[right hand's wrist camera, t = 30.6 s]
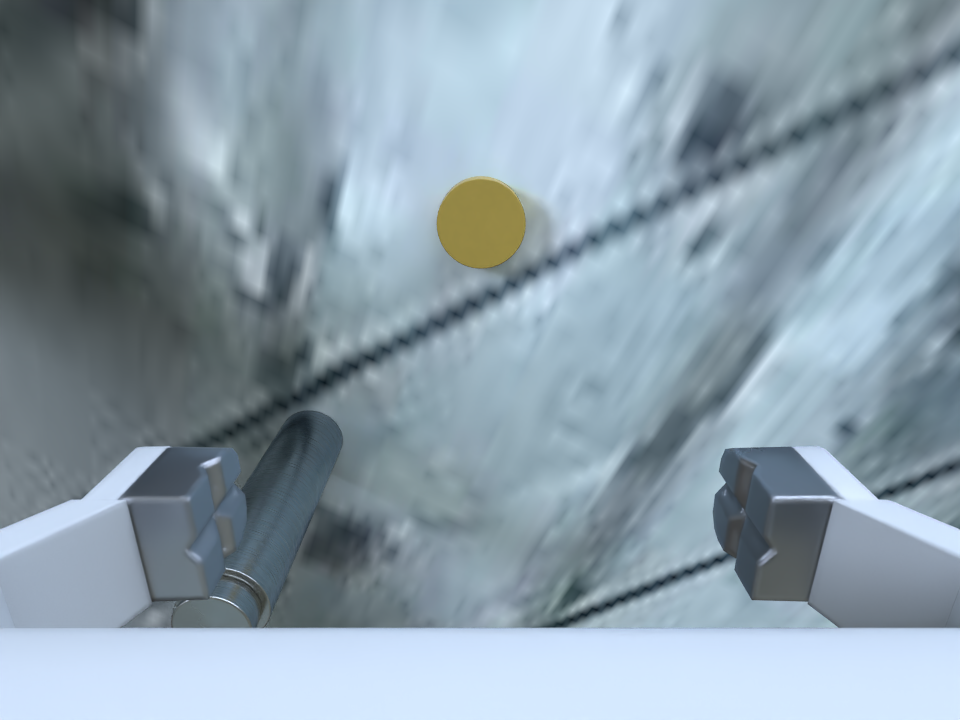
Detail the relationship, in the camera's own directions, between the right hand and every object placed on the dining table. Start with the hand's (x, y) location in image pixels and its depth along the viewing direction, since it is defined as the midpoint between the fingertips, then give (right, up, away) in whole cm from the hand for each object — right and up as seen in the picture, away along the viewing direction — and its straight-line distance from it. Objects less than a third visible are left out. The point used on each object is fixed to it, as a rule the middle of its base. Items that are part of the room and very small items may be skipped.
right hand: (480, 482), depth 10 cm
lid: (0, +10, +25) cm, 27 cm away
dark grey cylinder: (-12, -3, +31) cm, 34 cm away
